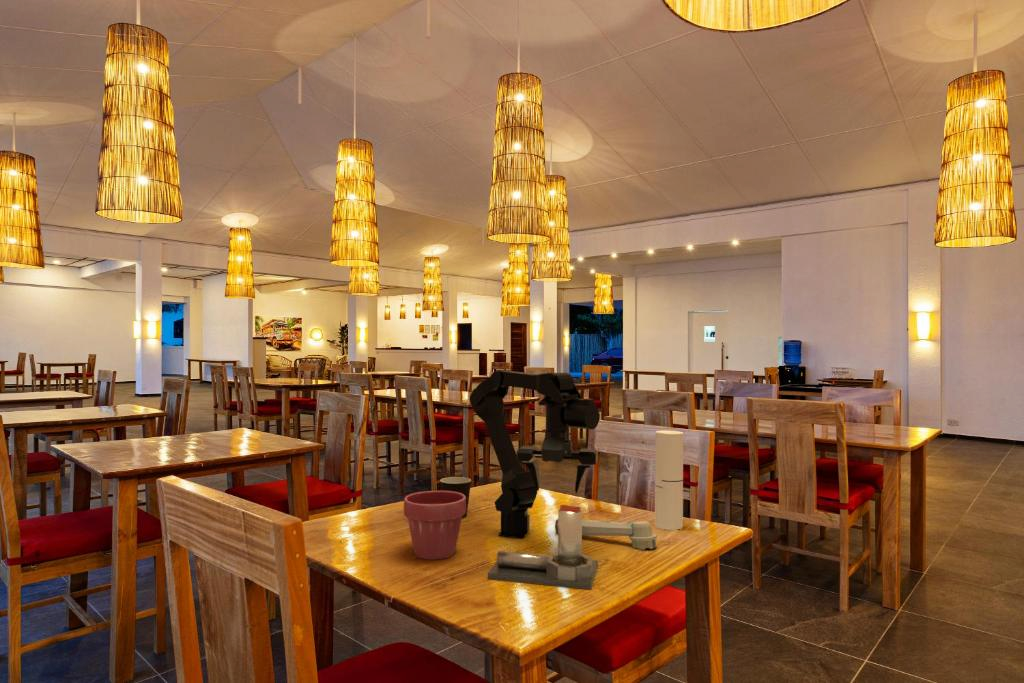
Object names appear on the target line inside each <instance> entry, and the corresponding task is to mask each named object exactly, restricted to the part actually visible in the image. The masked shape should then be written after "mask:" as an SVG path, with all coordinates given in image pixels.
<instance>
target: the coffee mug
mask: <svg viewBox="0 0 1024 683" xmlns="http://www.w3.org/2000/svg"><path fill="white" fill-rule="evenodd" d="M439 482H440V483H439V485H440V491H453V492H458V493H462V494H464V495H465V497H466V513H465V515H463V516H462V518H463V517H466V516H467V515H468V509H469V508H468V507H469V501H470V492H471V486H472V485H471V484H472V479H471V478H468V477H463V476H449V477H444V478H441V479H440V480H439ZM467 517H468V516H467ZM467 517H466V518H467ZM463 519H464V518H463Z"/></svg>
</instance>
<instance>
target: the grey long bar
mask: <svg viewBox="0 0 1024 683" xmlns="http://www.w3.org/2000/svg"><path fill="white" fill-rule="evenodd" d="M554 524H555V525H554V529H555V533H556V534H557V535H558V519H556V520H555V523H554ZM582 536H593V537H594V536H596V537H597V536H602V537H603V536H604V537H605V536H609V537H610V536H613V537H614V536H615V537H628V538H629V540H631V547H632V548H634V549H636V548H637V549H638V550H646V549H649V550H652V549H655V548H657V543H656V539H657V538H658V535H657V534H656V533H655V532H653V529H652V524H651V523H650V522H649V521H646V520H639V521H638V520H637V521H634V522H625V521H624V522H623V521H611V520H610V521H607V520H593V519H592V520H591V519H582Z"/></svg>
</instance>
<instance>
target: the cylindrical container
mask: <svg viewBox="0 0 1024 683" xmlns="http://www.w3.org/2000/svg"><path fill="white" fill-rule="evenodd" d="M654 454H655V466H654V467H655V470H654V471H655V472H654V474H655V476H654V480H655V481H654V486H655V487H654V488H655V489H654V491H655V492H654V497H655V498H654V527H656V528H657V527H658V528H657V529H660V528H661V529H660V530H664V529H666V531H677V530H676V529H680V530H682V529H683V528H684V527H683V526H684V525H683V524H684V522H683V521H684V519H683V516H684V514H683V512H684V511H683V510H684V484H683V483H684V432H683V431H678V430H669V429H668V430H666V429H665V430H663V429H662V430H656V431H655V453H654ZM682 527H683V528H682ZM681 528H682V529H681Z"/></svg>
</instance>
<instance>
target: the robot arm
mask: <svg viewBox="0 0 1024 683" xmlns="http://www.w3.org/2000/svg"><path fill="white" fill-rule="evenodd" d="M510 387H513V388H519V389H527V390H533V391H536V392H537V393H538V394H540V395H542V396H543V398H542V399H541V400H539V401H538V406H545V431H544V432H545V433H544V439H543V442H542V444H541V448H540V449H538V447H537V446H534V445H522V446H521V447H519V448H517V450H516V449H515V446H514V445H513V444H514V443H513V442H512V439H511V438H512V437H511V435H510V433H509V431H508V427H507V425H506V422H505V420H504V416H503V415H504V408H505V403H504V399H505V397H506V396H507V395H508V394H509V388H510ZM469 403H470V405H471V407H472V410H473V411H474V413H475V415H476V416H477V417H479V418H480V419H481V420H482V421H483V422H484V425H485V427H486V431H487V433H488V436H489V438H490V442H491V444H492V447H493V450H494V453H495V455H496V459H497V462H498V463H499V467H500V470H501V472H502V477H501V484H500V488H501V491H502V492H501V493H500V496H498V497H497V498H496V500H495V501H494V506H495V510H496V511H497V512H500V532H499V533H498V536H499V537H506V538H507V537H509V538H518V539H524V538H525V537H526V536H527V535H528V533H529V532H530V529H531V528H530V526H531V525H530V524H531V522H530V521H531V520H530V519H531V518H530V517H531V516H530V514H529V513H528V510H529V509H532V508H533V505H534V503H535V500H536V498H537V495H538V492H539V490H540V483H541V482H540V467H539V466H540V462H539V459H541V460H542V461H543V462H556V463H561V462H563V460H574V461H575V460H576V461H578V462H579V463H578V464H577V465H576V466H577V468H576V477H575V486H574V491H575V492H574V493H575V494H578V491H579V488H580V486H581V483H582V479H583V477H584V474H585V472H586V470H587V469H590V468H591V467H592V466H594V465H597V463H598V461H599V452H598V451H597V449H596V448H581V449H579V451H573V450H574V449H573V441H572V439H571V437H570V429H571V428H576V429H584V430H594V429H596V428H597V427H598V425H599V423H600V420H601V419H600V418H601V416H600V415H601V413H600V411H599V408H598V406H596V405H595V399H594V398H585V399H584V398H583V396H582V394H581V392H580V391H579V389H578V387H577V386H576V384H575V382H574V379H573V376H572V374H570V373H569V372H545V373H532V372H520V371H514V370H513V371H512V370H510V369H497V370H494V371H493V372H492V373H491V374H490V375H489V377H487V378H486V379H485V380H483V381H481V383H479V384H478V385H477V386H476V387H475V388H474V389H472V391H471V393H470V396H469ZM570 427H571V428H570ZM570 439H571V440H570ZM520 462H521V464H520ZM522 465H525V466H526V468H527V469H528V470H527V471H526V470H525V469H524V468H523V467H522Z"/></svg>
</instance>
